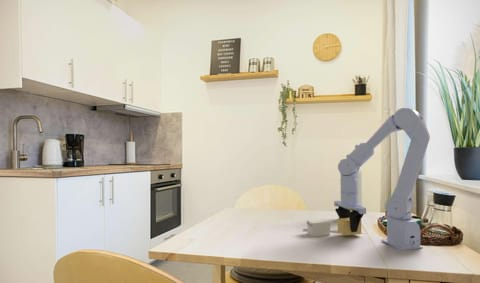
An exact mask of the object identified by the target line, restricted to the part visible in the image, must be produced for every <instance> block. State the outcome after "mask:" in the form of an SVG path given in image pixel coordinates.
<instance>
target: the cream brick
mask: <svg viewBox="0 0 480 283" xmlns="http://www.w3.org/2000/svg"><path fill="white" fill-rule="evenodd" d="M306 225H307V228H306V229H307V232H306V233H307V235H309V236H311V237H319V236H320V237H322V236H330V235H331V232H330V231H331V221H329V220H327V219H325V218H322V219H319V218H318V219H310V220H306Z"/></svg>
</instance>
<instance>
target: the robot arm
mask: <svg viewBox="0 0 480 283" xmlns="http://www.w3.org/2000/svg"><path fill="white" fill-rule="evenodd" d="M427 127H428V126H427V125H426V122H425V118H424V116H422V115H421V114H420V113H419V111H417V110H415V109H412V108H410V107H400V108H399V109H397V110H396V111H395V113H394V114H391V116H389V117H388V118H387V119H386V120H385V122H384V123H382V125H381V126H380V127H379V128H378V129H377V130H376V131H375V132H374V134H372V136H371V137H370V138H369V139H368V140H367V141H366V142H361V143H358V144H356V145H355V146H354V149H353V150H352V151H351V152H350V153H349V154H347V155H346V156H345V158H343V159H340V160H339V163H338V164H337V169H338V172H339V173H340V180H339V181H340V200H334V201H333V206H334V207H337V208H335V212H336V214H337V216H338V219H339V218H349V219H350V227H351V232H357V230H358V226H359V223H360V220H361V221H362V219H363V216H364V215H366V214H367V208H366V207H363V206H360V205H359V204H358V198H357V172H358V171H360V167H362V166H363V165H364V164H365V163H367V162H368V160H369V159H371V157H372V156H374V153H375V148H376V147H378V146H379V145H380V144H381V143H382V142H383V141H384V140H386V139H387V137H389V136H390V135H391V134H393V133H396V132H399V131H403V132H405V134H406V136H408V138H409V139H410V143H409V145H408V148H407V151H406V154H405V157H404V161H403V165H402V167H401V170H400V174H399V177H398V180H397V184H396V187H395V188H394V190H393V192H392V194H391V197H390V198H389V199H388V200H387V201H386V202H385V207H384V208H385V211H386V213H387V214H386V231H387V232H386V238H383V239H381V240H380V241H381V242H383V243H385V244H387V245H390V246H391V247H393V248H396V249H398V250H400V251H409V250H419V249H423V246H422V245H421V227H420V225H419V223H418V222H416V221H414V220H413V216H412V214H411V213H410V211H411V210H412V208H413V206H414V204H413V200H412V199H413V196H414V188H415V185H416V182H417V180H418V177H419V174H420V170H421V167H422V164H423V160H424V157H425V155H426V152H427V148H428V145H429V142H430V139H431V135H430V133H429V130H428V128H427ZM350 210H351V211H352V212H350Z"/></svg>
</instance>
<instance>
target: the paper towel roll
mask: <svg viewBox="0 0 480 283" xmlns="http://www.w3.org/2000/svg"><path fill="white" fill-rule="evenodd" d="M362 194H363V193H362V170H359V171H358V172H357V198H358V204H359V205H360V206H362V204H363V203H362V202H363V201H362V197H363V196H362ZM362 207H363V206H362Z"/></svg>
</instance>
